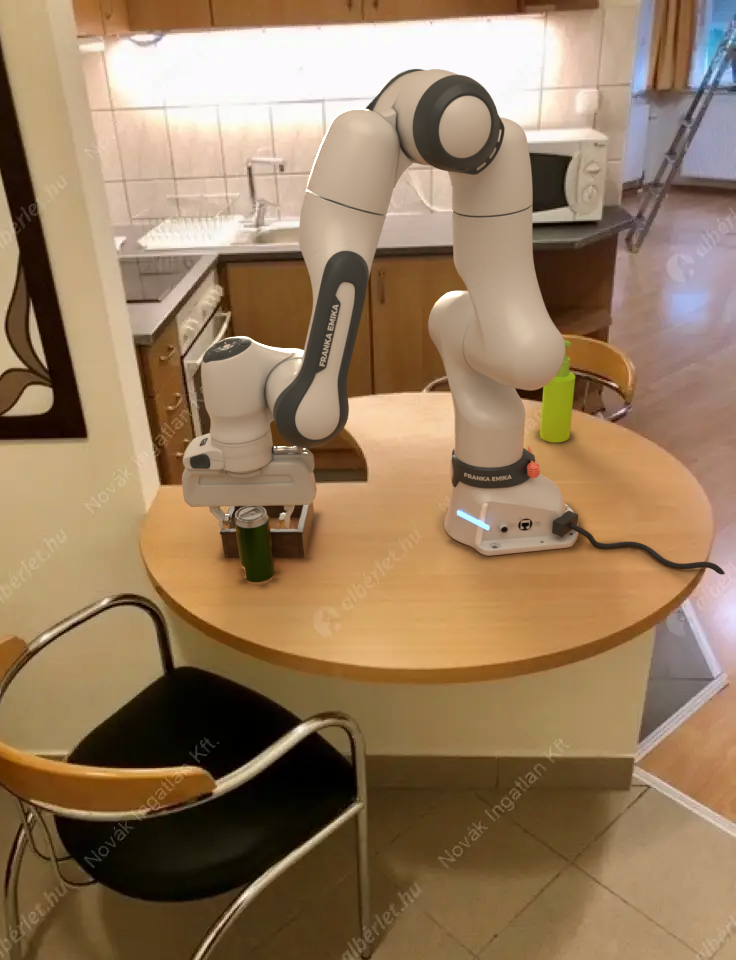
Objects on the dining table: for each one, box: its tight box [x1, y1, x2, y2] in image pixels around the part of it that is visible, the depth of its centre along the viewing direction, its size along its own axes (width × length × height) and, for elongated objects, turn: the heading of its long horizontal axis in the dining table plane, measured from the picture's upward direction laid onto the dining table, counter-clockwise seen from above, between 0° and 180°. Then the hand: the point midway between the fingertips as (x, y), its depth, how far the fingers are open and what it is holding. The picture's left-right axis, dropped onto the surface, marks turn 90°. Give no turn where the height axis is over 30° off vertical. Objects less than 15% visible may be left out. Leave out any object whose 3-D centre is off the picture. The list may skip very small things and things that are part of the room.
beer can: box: [234, 506, 276, 586], centre depth 135 cm, size 5×5×12 cm
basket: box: [219, 501, 315, 559], centre depth 147 cm, size 14×14×5 cm
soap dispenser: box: [539, 339, 576, 443], centre depth 169 cm, size 6×7×20 cm
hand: (255, 526), depth 134 cm, fingers open, 8 cm apart
